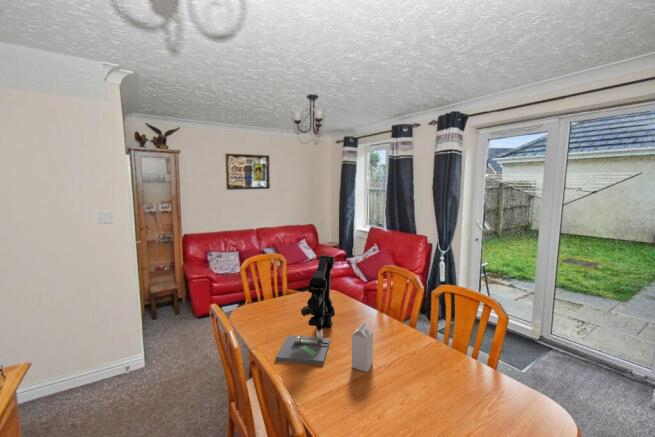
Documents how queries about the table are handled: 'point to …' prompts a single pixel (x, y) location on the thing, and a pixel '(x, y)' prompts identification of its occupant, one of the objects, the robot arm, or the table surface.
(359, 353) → the milk carton
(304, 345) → the board
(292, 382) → the table surface
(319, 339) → the lever
